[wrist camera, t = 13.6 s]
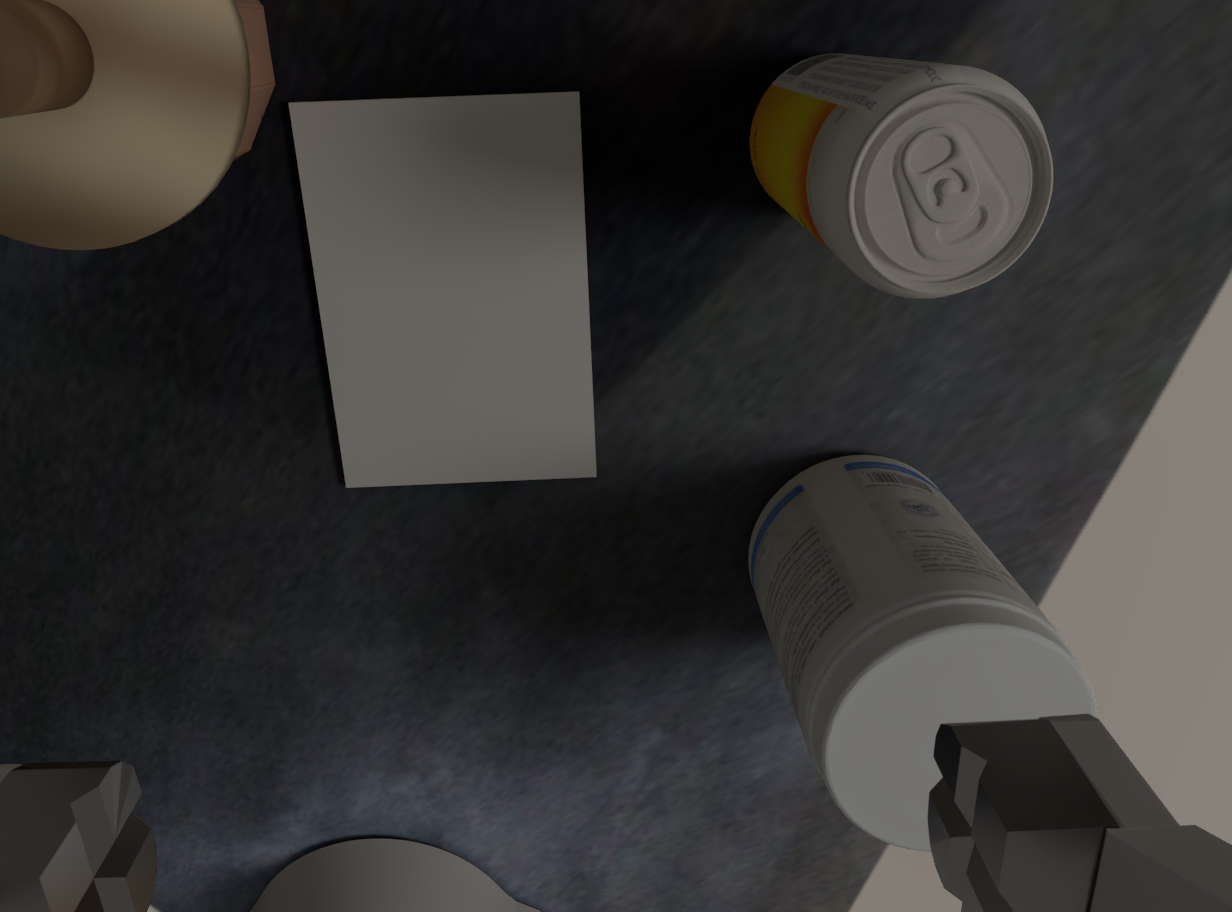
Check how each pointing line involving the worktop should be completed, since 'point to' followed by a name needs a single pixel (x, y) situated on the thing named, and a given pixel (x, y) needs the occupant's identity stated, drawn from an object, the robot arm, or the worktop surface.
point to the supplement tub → (896, 634)
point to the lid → (115, 115)
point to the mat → (452, 284)
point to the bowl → (256, 68)
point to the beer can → (905, 168)
